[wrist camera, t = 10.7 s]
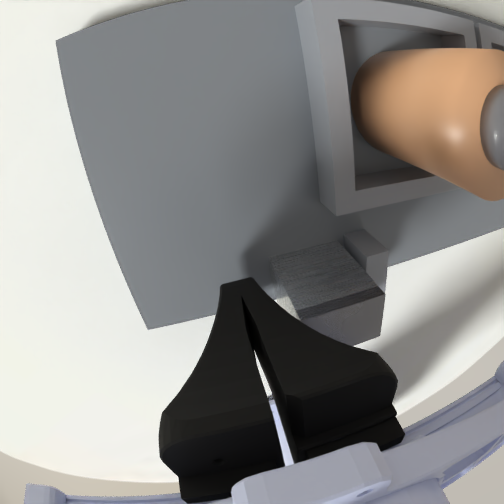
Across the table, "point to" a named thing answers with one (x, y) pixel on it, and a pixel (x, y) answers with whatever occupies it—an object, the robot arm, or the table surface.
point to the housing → (254, 142)
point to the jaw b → (437, 113)
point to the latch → (329, 292)
